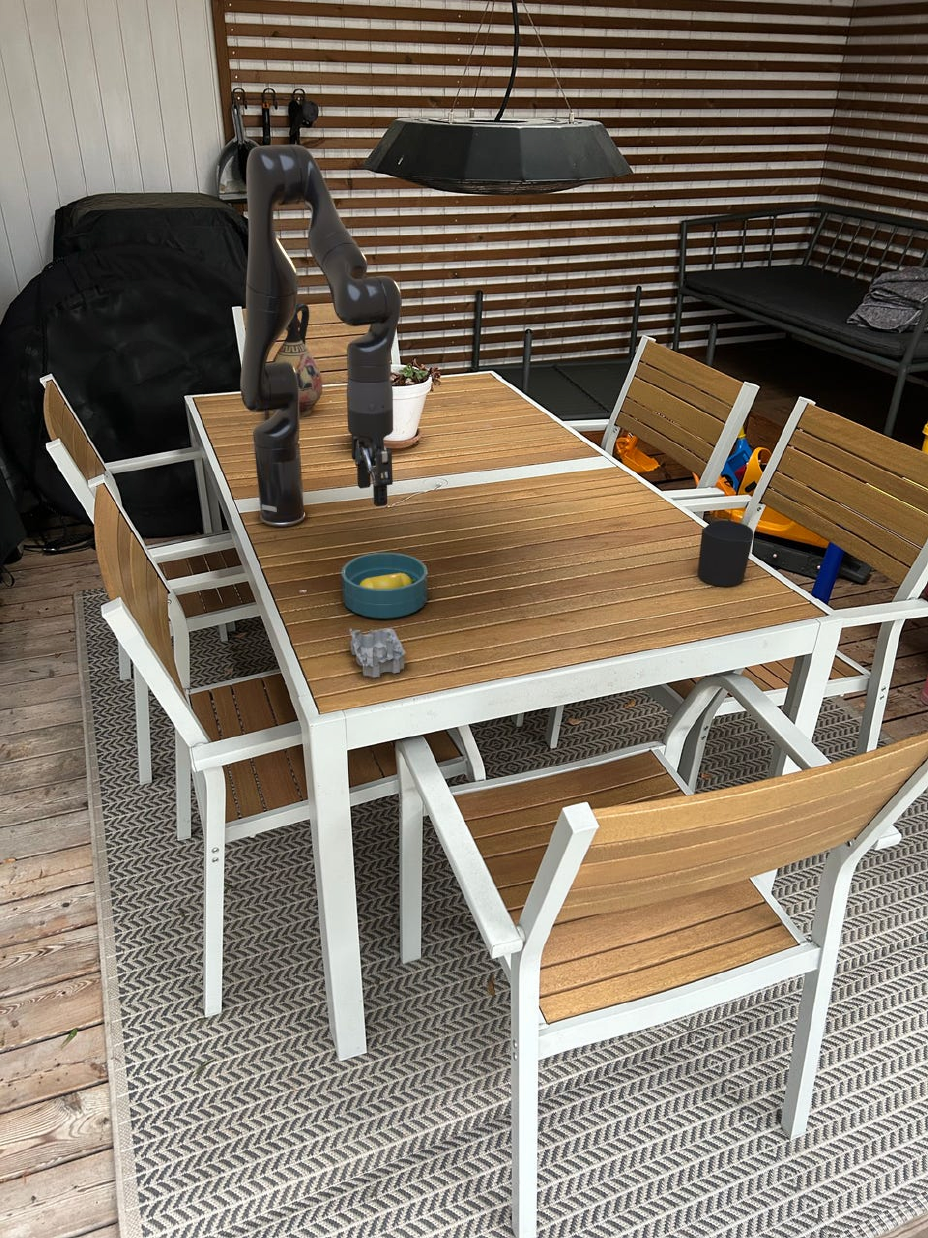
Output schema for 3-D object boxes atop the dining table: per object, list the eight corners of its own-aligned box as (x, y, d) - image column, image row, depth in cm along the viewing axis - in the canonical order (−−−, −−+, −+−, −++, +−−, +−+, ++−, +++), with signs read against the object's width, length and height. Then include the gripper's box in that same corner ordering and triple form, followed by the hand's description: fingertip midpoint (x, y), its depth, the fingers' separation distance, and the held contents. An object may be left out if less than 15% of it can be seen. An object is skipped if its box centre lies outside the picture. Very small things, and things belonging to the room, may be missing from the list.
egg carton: (347, 648, 158) (346, 626, 156) (391, 641, 160) (391, 620, 158) (362, 681, 149) (361, 658, 147) (408, 673, 151) (408, 651, 149)
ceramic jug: (300, 424, 260) (293, 312, 245) (257, 415, 267) (247, 305, 252) (338, 409, 273) (333, 301, 258) (296, 400, 280) (289, 295, 265)
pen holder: (753, 586, 180) (762, 538, 175) (707, 590, 178) (715, 542, 173) (731, 565, 188) (740, 518, 183) (687, 568, 186) (694, 521, 181)
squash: (362, 608, 169) (362, 588, 166) (354, 595, 172) (354, 575, 169) (419, 598, 172) (420, 578, 170) (411, 585, 176) (411, 565, 173)
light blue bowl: (327, 596, 173) (325, 566, 170) (395, 574, 182) (395, 545, 179) (373, 629, 163) (372, 598, 160) (443, 604, 171) (444, 574, 168)
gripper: (406, 414, 152) (407, 508, 160) (377, 390, 163) (378, 478, 171) (362, 419, 149) (364, 514, 157) (335, 394, 160) (338, 484, 168)
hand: (372, 495), depth 164 cm, fingers open, 8 cm apart
